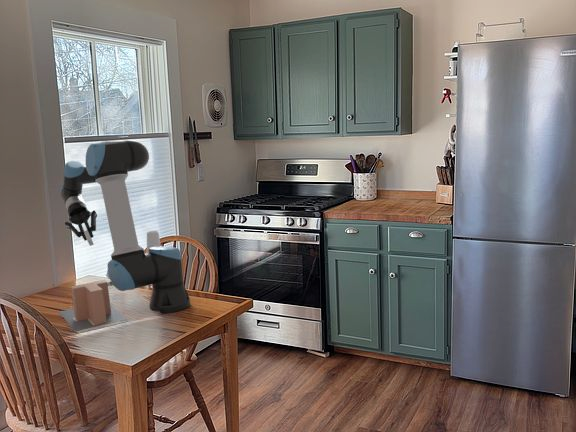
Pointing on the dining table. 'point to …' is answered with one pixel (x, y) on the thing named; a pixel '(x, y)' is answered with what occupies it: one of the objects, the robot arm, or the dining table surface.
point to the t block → (91, 301)
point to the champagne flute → (153, 240)
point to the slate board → (87, 323)
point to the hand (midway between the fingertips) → (90, 242)
